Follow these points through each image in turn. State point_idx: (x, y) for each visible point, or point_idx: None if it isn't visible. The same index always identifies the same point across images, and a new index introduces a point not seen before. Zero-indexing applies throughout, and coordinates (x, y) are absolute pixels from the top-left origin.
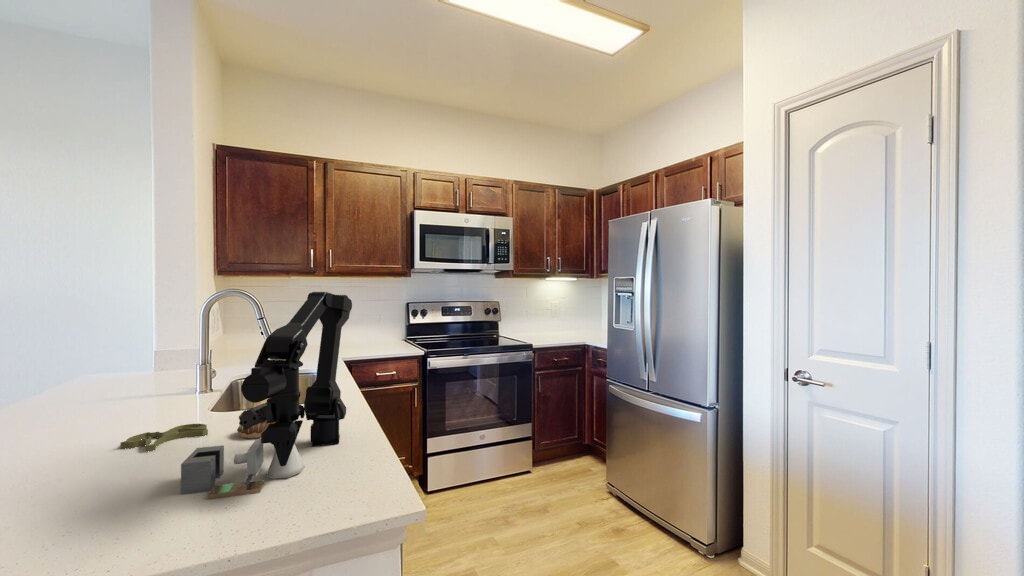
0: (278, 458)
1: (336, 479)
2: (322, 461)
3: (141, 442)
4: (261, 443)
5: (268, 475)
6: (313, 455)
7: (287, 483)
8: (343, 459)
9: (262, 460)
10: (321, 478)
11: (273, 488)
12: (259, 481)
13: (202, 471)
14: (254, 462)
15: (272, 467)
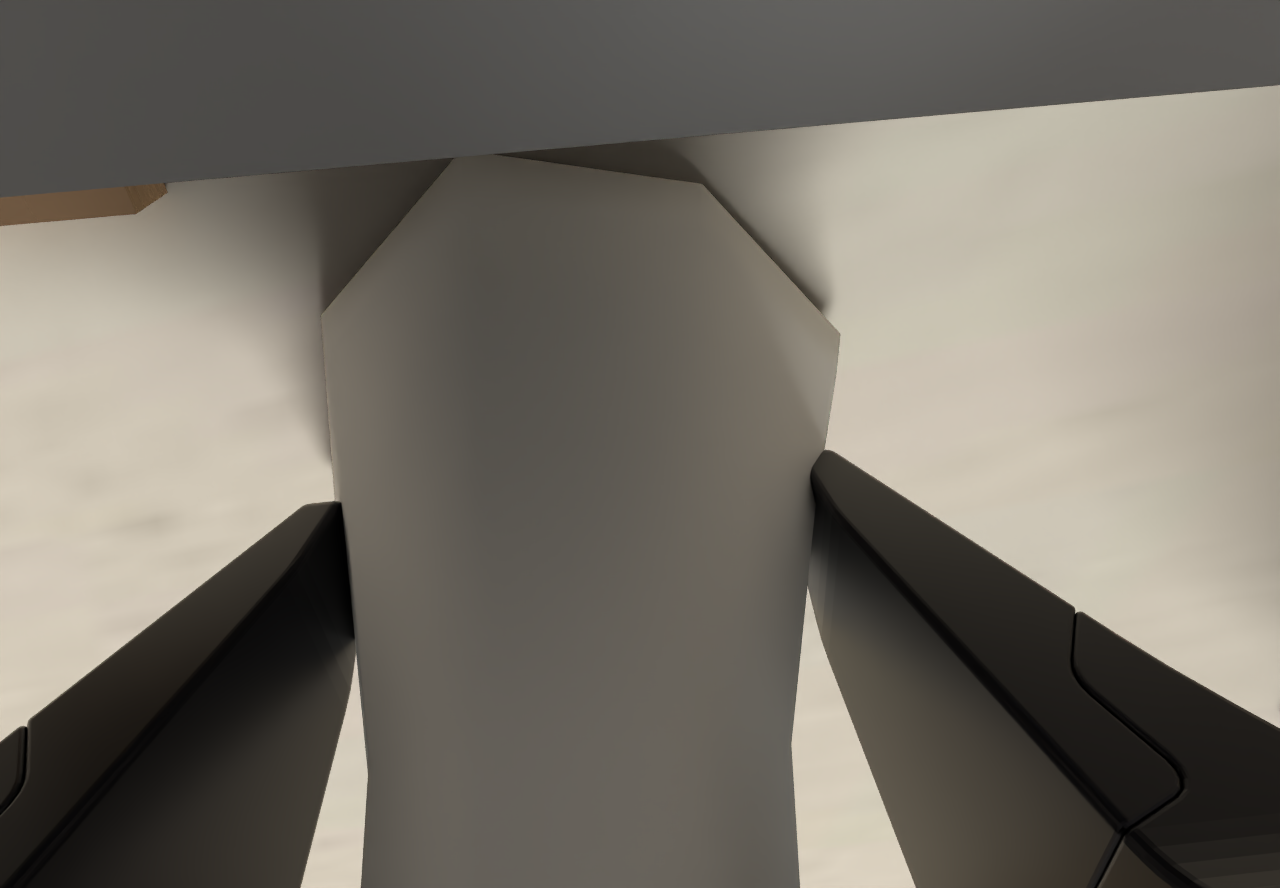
0: (176, 614)
1: (317, 834)
2: (826, 681)
3: None
4: (877, 101)
5: (426, 201)
6: (1082, 574)
7: (207, 497)
8: (798, 808)
9: None
10: (347, 746)
11: (22, 374)
12: None
13: None
14: None
15: (401, 326)
